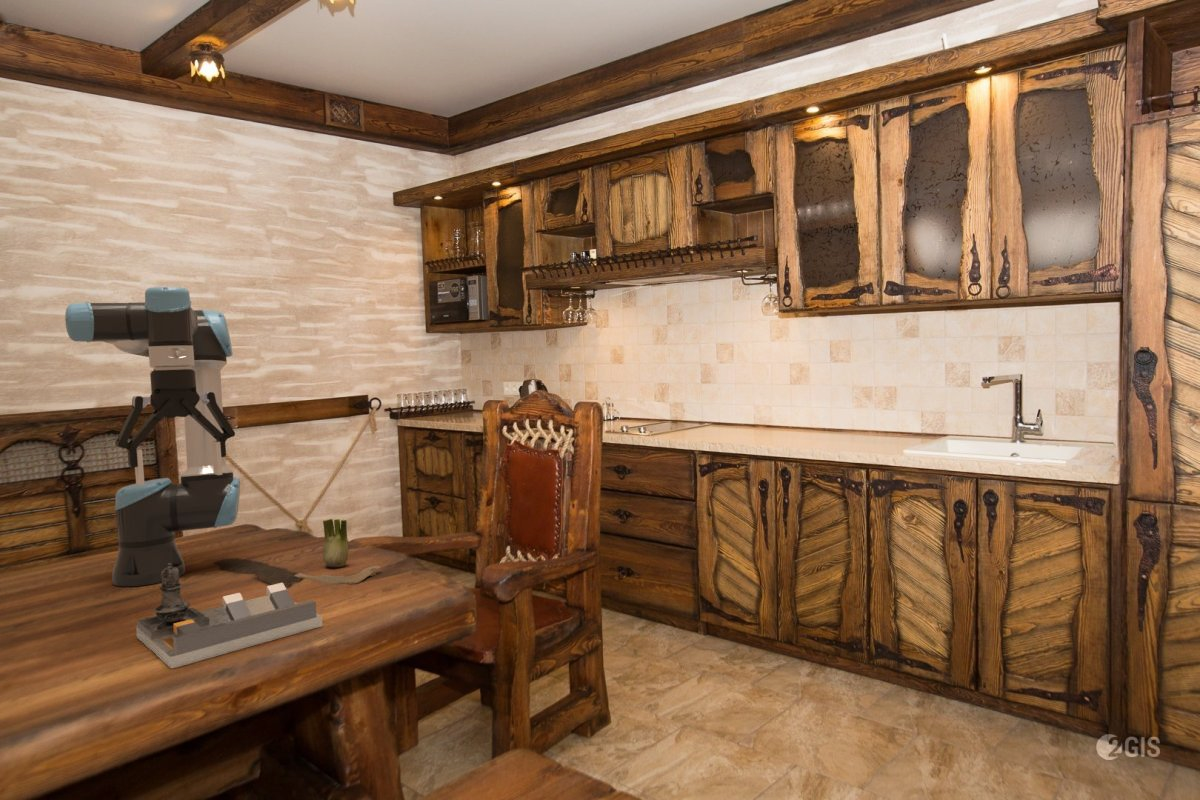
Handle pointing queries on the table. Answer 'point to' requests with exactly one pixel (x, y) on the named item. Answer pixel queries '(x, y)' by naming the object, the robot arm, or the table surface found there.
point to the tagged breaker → (185, 626)
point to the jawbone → (342, 580)
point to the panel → (226, 630)
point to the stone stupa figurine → (171, 599)
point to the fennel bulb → (335, 543)
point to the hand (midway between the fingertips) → (180, 479)
